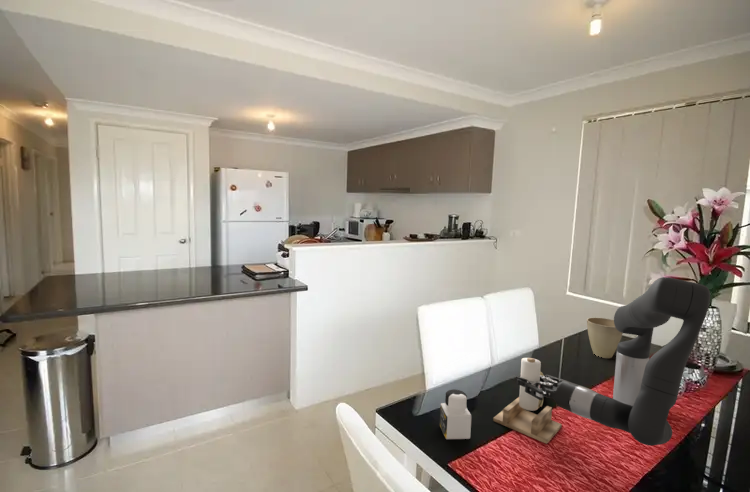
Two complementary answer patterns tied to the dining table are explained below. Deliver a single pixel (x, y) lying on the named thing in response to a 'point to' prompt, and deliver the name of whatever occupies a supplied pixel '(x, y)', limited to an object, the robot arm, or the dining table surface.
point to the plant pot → (603, 336)
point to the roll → (531, 373)
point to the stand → (529, 421)
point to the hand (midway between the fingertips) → (522, 377)
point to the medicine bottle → (455, 416)
